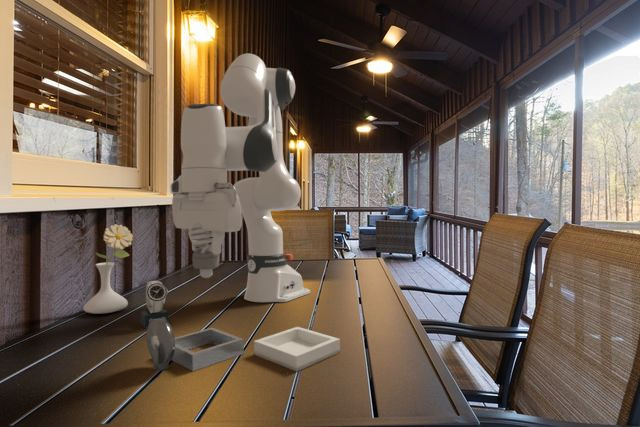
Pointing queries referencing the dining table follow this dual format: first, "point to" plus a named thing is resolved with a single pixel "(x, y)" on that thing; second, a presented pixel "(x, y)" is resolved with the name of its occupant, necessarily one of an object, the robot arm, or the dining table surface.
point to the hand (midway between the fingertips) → (206, 252)
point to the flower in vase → (106, 296)
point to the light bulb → (203, 252)
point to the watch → (154, 303)
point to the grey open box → (190, 346)
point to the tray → (296, 348)
